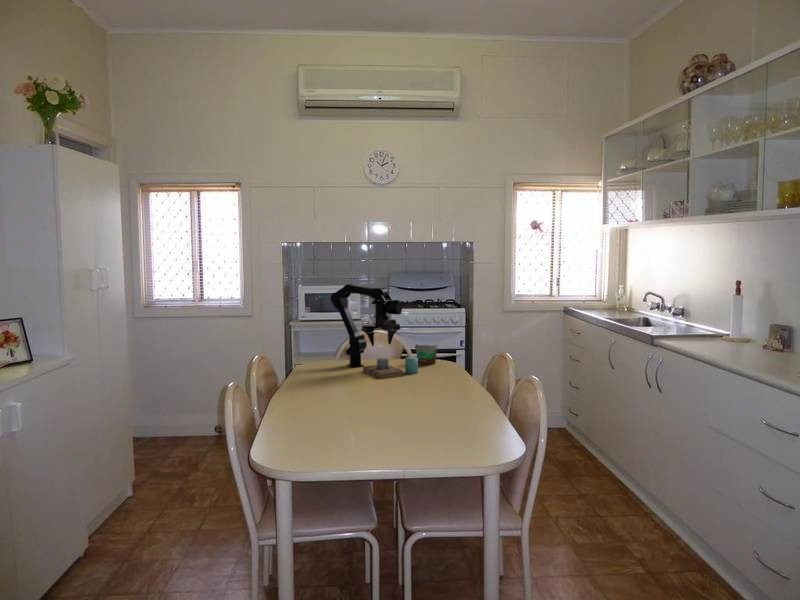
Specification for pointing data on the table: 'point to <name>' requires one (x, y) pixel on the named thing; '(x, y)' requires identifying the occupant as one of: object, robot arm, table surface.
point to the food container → (426, 354)
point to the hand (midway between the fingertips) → (381, 345)
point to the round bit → (411, 365)
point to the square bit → (382, 363)
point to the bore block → (383, 371)
